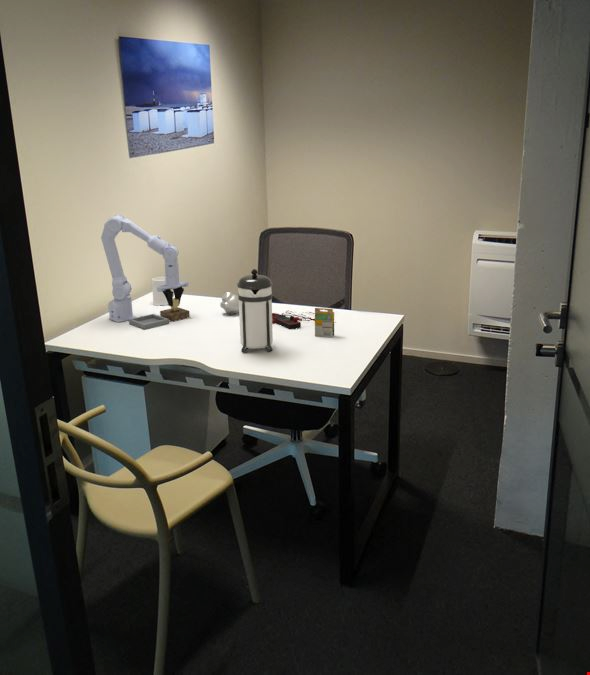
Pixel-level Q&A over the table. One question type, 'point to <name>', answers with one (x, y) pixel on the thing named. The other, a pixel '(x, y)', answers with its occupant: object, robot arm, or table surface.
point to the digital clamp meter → (288, 320)
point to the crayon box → (324, 322)
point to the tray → (149, 321)
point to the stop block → (175, 314)
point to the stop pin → (175, 305)
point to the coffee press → (255, 311)
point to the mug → (158, 296)
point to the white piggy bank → (230, 303)
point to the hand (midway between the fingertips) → (174, 305)
